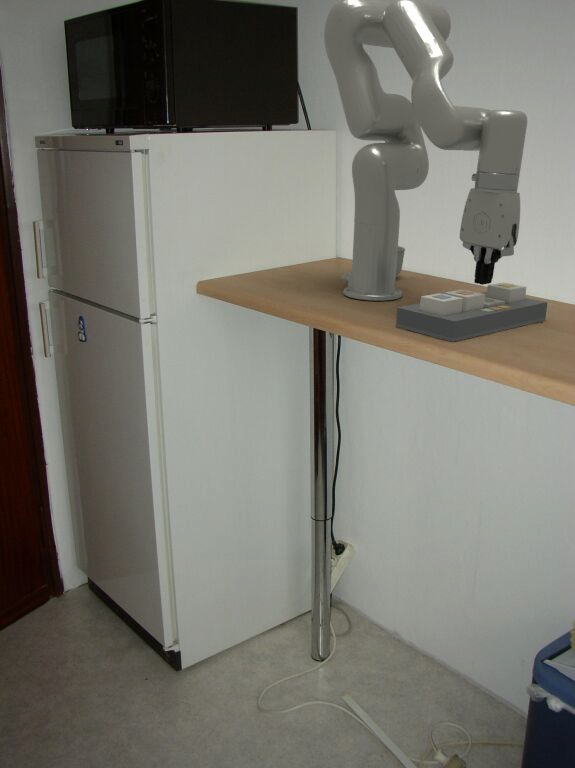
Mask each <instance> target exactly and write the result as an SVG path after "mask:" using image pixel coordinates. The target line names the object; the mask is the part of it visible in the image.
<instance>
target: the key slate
mask: <svg viewBox="0 0 575 768" xmlns="http://www.w3.org/2000/svg"><path fill="white" fill-rule="evenodd" d="M462 302H463V298H459V297H455V296H450V295H445V294H444V293H433V294H427V295H422V296H420V302H419V304H420V311H423V312H427V313H431V314H435V315H439V316H447V315H452V314H457V313H461V312H462Z"/></svg>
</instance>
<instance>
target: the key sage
mask: <svg viewBox="0 0 575 768" xmlns="http://www.w3.org/2000/svg"><path fill="white" fill-rule="evenodd" d="M503 304H505V301H501V300H496V299H491V298H487V297H485V302H484V306H485V307H493V306H498V305H503Z"/></svg>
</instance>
